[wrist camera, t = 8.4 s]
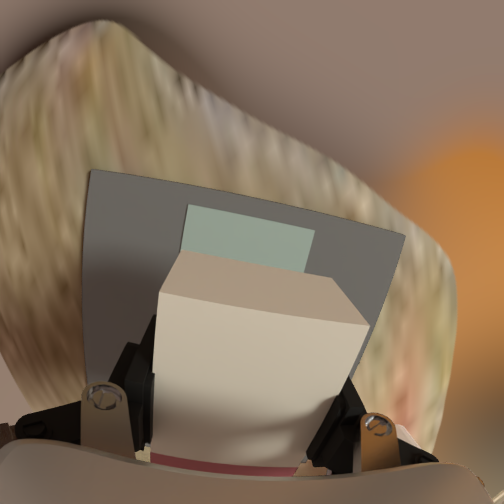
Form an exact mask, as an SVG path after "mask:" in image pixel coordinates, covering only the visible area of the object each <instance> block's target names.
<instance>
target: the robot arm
mask: <svg viewBox="0 0 504 504" xmlns="http://www.w3.org/2000/svg"><path fill="white" fill-rule="evenodd" d="M156 318H157V315H156V314H153V316H152V318H151V320H150V323H149V325H148V327H147V329H146V331H145V334H144V336H143V338H142V340H141V343H140V344H137V343H132V342H127V343H126V345H125V347H124V349H123V351H122V353H121V355H120V357H119V359H118V361H117V363H116V365H115V367H114V369H113V371H112V373H111V375H110V377H109V380H108V382H105V381H98V382H94V383H91V384H89V385H88V386H86V387H85V388H84V390H83V392H82V397H81V401H77V402H74V403H70V404H67V405H63V406H59V407H55V408H51V409H47V410H43V411H39V412H35V413H31V414H27V415H24V416H22V417H21V418H20V419H19V420H18V421H17V423H16V424H15V425H12V426H9V424H8V423H2V424H0V504H494V502H493V500H492V499H491V497H490V495H489V494H488V492H487V491H486V489H485V487H484V483H483V481H482V480H481V479H480V478H479V477H477V476H475V475H474V474H473V473H472V471H470V469H468V468H467V467H465V466H462V465H459V464H454V463H446V462H439V461H438V459H437V458H436V457H435V456H433V455H432V454H430V453H428V452H426V451H424V450H422V449H420V448H417V447H415V446H413V445H411V444H409V443H407V442H405V441H403V440H401V439H399V438H397V432H396V427H395V424H394V423H393V422H392V420H390V419H389V418H388V417H386V416H385V415H383V414H379V413H367V412H366V410H365V408H364V405H363V403H362V401H361V399H360V397H359V395H358V393H357V391H356V389H355V387H354V385H353V383H352V381H351V379H350V377H349V375H348V377H347V379H346V381H345V383H344V385H343V387H342V389H341V391H340V393H339V395H336V397H335V399H334V401H333V403H332V405H331V407H330V409H329V411H328V413H327V414H326V416H325V418H324V420H323V422H322V424H321V426H320V427H319V429H318V431H317V433H316V435H315V436H314V438H313V440H312V442H311V443H310V445H309V447H308V448H307V450H306V455H307V458H308V459H309V460H312V464H313V467H326V468H328V470H327V475H324V476H301V477H268V476H245V475H232V474H221V473H211V472H203V471H195V470H188V469H182V468H176V467H170V466H165V465H160V464H155V463H150V462H145V461H140V460H136V456H135V452H137V451H139V450H142V451H144V446H145V443H148V444H151V441H152V436H153V404H154V382H155V373H152V372H153V355H154V341H155V329H156Z"/></svg>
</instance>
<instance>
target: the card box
mask: <svg viewBox="0 0 504 504" xmlns="http://www.w3.org/2000/svg"><path fill="white" fill-rule="evenodd" d="M369 327H370V325H369V324H368V322H367V321H366V320H365V319H364V317H363V316H362V315H361V314H360V312H359V311H358V310H357V309H356V307H355V306H354V305H353V304H352V302H351V301H350V300H349V299H348V297H347V296H346V295H345V294H344V292H343V291H342V290H341V289H340V288H339V286H338V285H337V284H336V283H335V281H334V280H333V279H332V278H329V277H324V276H318V275H313V274H307V273H302V272H297V271H291V270H286V269H281V268H275V267H270V266H265V265H259V264H254V263H249V262H244V261H238V260H233V259H228V258H223V257H218V256H213V255H207V254H202V253H197V252H192V251H187V250H181V252H180V254H179V255H178V257H177V259H176V261H175V263H174V265H173V266H172V268H171V270H170V272H169V274H168V276H167V278H166V280H165V282H164V283H163V285H162V287H161V289H160V291H159V298H158V307H157V318H156V329H155V341H154V355H153V372H152V373H155V382H154V404H153V436H152V441H151V452H150V460H151V463H155V464H160V465H165V466H170V467H176V468H182V469H188V470H195V471H203V472H211V473H221V474H232V475H245V476H268V477H292V476H293V475H294V473H295V472H296V470H297V468H298V466H299V465H300V463H301V461H302V460H303V458H304V457H305V455H306V450H307V448H308V447H309V445H310V443H311V442H312V440H313V438H314V436H315V435H316V433H317V431H318V429H319V427H320V426H321V424H322V422H323V420H324V418H325V416H326V414H327V413H328V411H329V409H330V407H331V405H332V403H333V401H334V399H335V397H336V395H339V393H340V391H341V389H342V387H343V385H344V383H345V381H346V379H347V377H348V375H349V373H350V371H351V369H352V366H353V364H354V362H355V360H356V358H357V355H358V353H359V351H360V349H361V346H362V344H363V342H364V339H365V337H366V335H367V332H368V330H369Z"/></svg>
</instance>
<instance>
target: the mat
mask: <svg viewBox="0 0 504 504" xmlns="http://www.w3.org/2000/svg"><path fill="white" fill-rule="evenodd" d="M405 237H406V236H405V235H403V234H400V233H396V232H393V231H389V230H385V229H382V228H378V227H374V226H371V225H367V224H363V223H359V222H356V221H352V220H348V219H344V218H340V217H336V216H332V215H328V214H324V213H320V212H316V211H312V210H307V209H303V208H299V207H295V206H290V205H286V204H281V203H277V202H272V201H268V200H263V199H259V198H254V197H249V196H245V195H240V194H235V193H230V192H225V191H220V190H215V189H210V188H205V187H199V186H194V185H189V184H183V183H178V182H172V181H166V180H161V179H155V178H149V177H143V176H136V175H130V174H124V173H117V172H110V171H103V170H96V169H91V175H90V182H89V190H88V198H87V207H86V217H85V228H84V242H83V263H82V320H83V340H84V354H85V365H86V375H87V383H88V385H89V384H91V383H94V382H98V381H105V382H108V380H109V377H110V375H111V373H112V371H113V369H114V367H115V365H116V363H117V361H118V359H119V357H120V355H121V353H122V351H123V349H124V347H125V345H126V343H127V342H132V343H137V344H140V343H141V340H142V338H143V336H144V334H145V331H146V329H147V327H148V325H149V323H150V320H151V318H152V316H153V314H156V315H157V307H158V298H159V291H160V289H161V287H162V285H163V283H164V282H165V280H166V278H167V276H168V274H169V272H170V270H171V268H172V266H173V265H174V263H175V261H176V259H177V257H178V255H179V254H180V252H181V250H187V251H192V252H197V253H202V254H207V255H213V256H218V257H223V258H228V259H233V260H238V261H244V262H249V263H254V264H259V265H265V266H270V267H275V268H281V269H286V270H291V271H297V272H302V273H307V274H313V275H318V276H324V277H329V278H332V279H333V280H334V281H335V283H336V284H337V285H338V286H339V288H340V289H341V290H342V291H343V292H344V294H345V295H346V296H347V297H348V299H349V300H350V301H351V302H352V304H353V305H354V306H355V307H356V309H357V310H358V311H359V312H360V314H361V315H362V316H363V317H364V319H365V320H366V321H367V322H368V324H369V325H370V327H369V330H368V332H367V335H366V337H365V339H364V342H363V344H362V346H361V349H360V351H359V353H358V355H357V358H356V360H355V362H354V364H353V366H352V369H351V371H350V373H349V377H350V379H352V377H353V375H354V373H355V370H356V368H357V366H358V364H359V362H360V360H361V357H362V355H363V353H364V351H365V348H366V346H367V344H368V341H369V339H370V336H371V334H372V332H373V329H374V327H375V324H376V322H377V319H378V317H379V314H380V312H381V309H382V306H383V304H384V301H385V298H386V296H387V293H388V290H389V287H390V284H391V281H392V278H393V276H394V273H395V270H396V267H397V263H398V260H399V257H400V254H401V251H402V248H403V244H404V241H405ZM145 446H147V447H151V444H148V443H145ZM307 460H308V458H307V455H305V457H304V458H303V460H302V461H301V463H306V461H307Z"/></svg>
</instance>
